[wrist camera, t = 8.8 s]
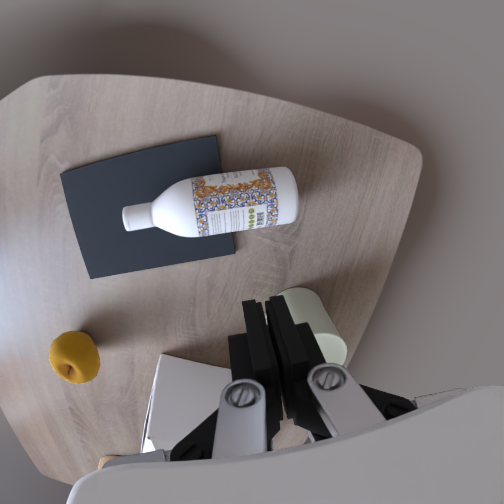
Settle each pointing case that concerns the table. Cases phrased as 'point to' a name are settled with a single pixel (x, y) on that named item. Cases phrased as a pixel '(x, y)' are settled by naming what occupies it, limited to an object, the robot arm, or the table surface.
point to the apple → (74, 357)
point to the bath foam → (220, 203)
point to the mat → (133, 193)
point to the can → (316, 322)
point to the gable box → (181, 400)
